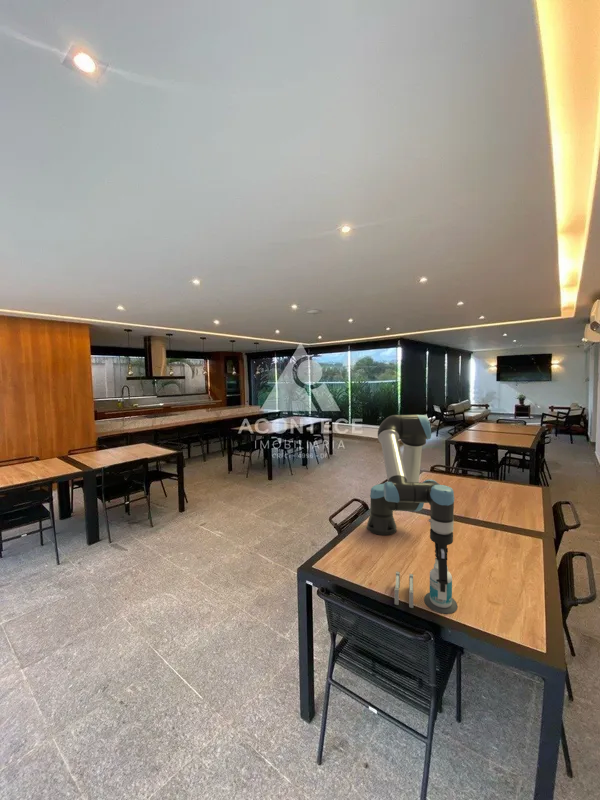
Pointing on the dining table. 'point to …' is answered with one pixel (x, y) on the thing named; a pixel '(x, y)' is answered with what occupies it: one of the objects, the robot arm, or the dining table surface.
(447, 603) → the pill bottle
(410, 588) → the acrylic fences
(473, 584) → the dining table surface
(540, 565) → the dining table surface
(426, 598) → the coaster
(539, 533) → the dining table surface
